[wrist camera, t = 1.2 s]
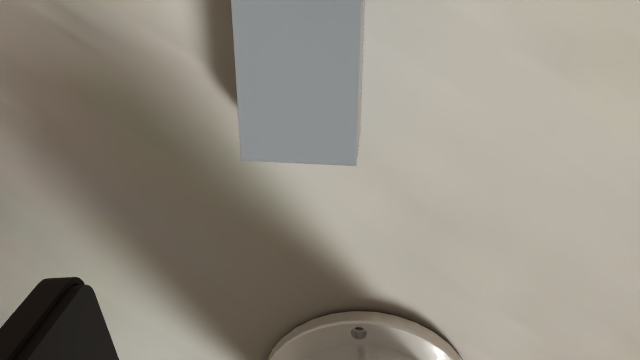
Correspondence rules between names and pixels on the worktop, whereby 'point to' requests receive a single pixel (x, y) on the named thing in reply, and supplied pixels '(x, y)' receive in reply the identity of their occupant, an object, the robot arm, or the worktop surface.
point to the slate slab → (299, 79)
